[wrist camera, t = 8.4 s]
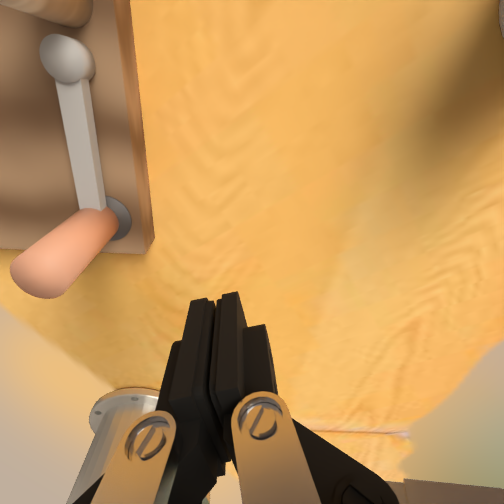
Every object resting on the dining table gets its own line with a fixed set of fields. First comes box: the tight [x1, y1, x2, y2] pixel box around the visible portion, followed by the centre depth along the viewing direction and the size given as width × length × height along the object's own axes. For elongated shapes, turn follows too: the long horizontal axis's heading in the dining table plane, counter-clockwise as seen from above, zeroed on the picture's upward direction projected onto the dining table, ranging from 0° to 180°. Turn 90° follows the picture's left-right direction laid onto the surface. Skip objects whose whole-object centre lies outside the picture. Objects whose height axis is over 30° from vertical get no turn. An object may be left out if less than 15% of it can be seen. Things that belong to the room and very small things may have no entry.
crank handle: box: [10, 34, 119, 299], centre depth 16 cm, size 12×3×8 cm, turn 174°
